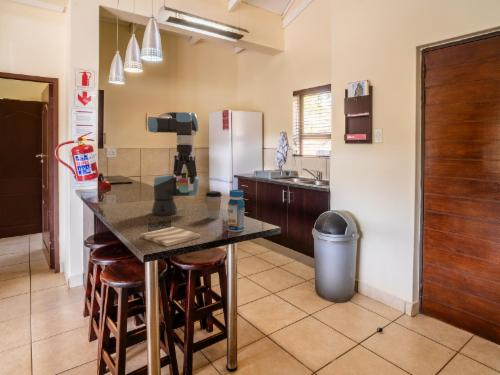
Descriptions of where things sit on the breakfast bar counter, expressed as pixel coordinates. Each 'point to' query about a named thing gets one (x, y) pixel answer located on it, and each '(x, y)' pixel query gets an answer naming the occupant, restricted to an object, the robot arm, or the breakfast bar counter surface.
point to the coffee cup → (213, 204)
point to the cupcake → (183, 184)
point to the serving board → (170, 236)
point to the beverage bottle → (236, 211)
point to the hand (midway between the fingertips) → (184, 189)
